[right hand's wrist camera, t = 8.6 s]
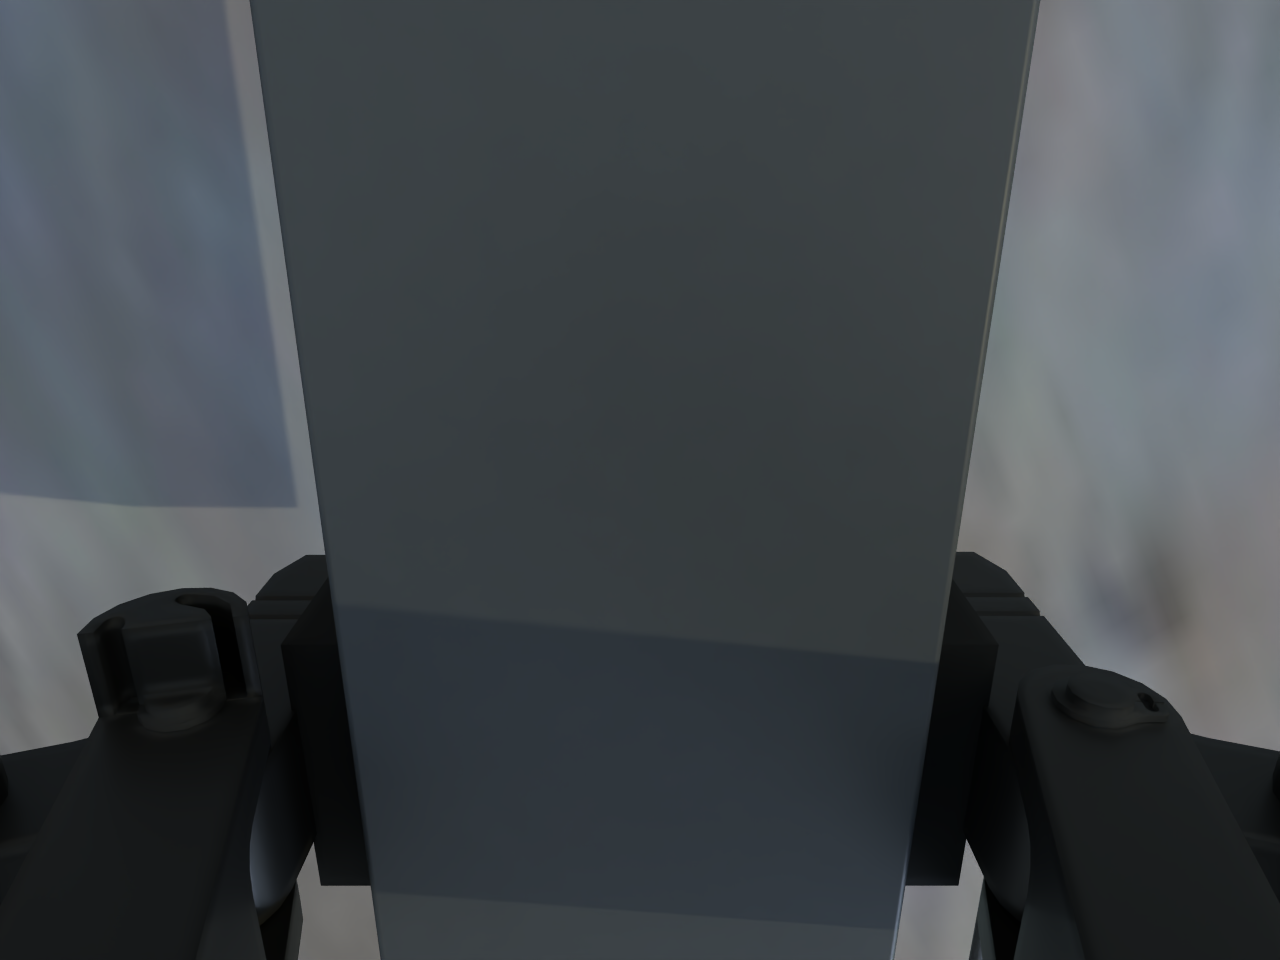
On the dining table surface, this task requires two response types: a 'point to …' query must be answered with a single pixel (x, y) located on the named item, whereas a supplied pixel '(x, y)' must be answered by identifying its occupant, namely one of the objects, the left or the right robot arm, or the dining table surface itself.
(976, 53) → the post
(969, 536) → the dining table surface
